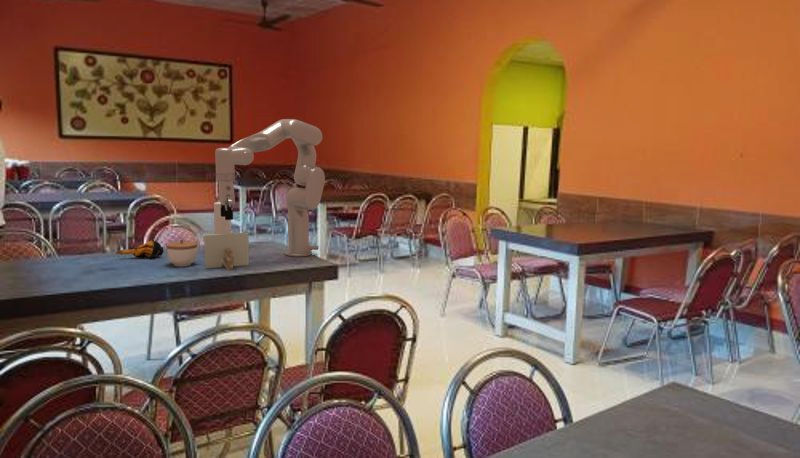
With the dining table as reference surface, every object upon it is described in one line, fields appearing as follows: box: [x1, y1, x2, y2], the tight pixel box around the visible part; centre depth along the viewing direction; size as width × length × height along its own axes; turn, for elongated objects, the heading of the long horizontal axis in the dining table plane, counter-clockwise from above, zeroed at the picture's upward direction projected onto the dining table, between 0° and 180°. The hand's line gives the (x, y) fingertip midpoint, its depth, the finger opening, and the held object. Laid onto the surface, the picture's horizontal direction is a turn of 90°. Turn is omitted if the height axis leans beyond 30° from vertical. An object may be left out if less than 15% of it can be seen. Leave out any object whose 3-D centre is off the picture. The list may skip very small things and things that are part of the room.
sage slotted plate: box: [203, 232, 250, 269], centre depth 261 cm, size 18×2×14 cm, turn 116°
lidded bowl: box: [165, 238, 198, 267], centre depth 262 cm, size 13×13×11 cm
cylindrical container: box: [213, 201, 232, 234], centre depth 278 cm, size 7×7×25 cm
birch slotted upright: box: [222, 249, 234, 271], centre depth 261 cm, size 2×15×8 cm, turn 27°
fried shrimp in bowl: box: [116, 238, 164, 260], centre depth 273 cm, size 9×11×18 cm
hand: (226, 218), depth 259 cm, fingers open, 9 cm apart
